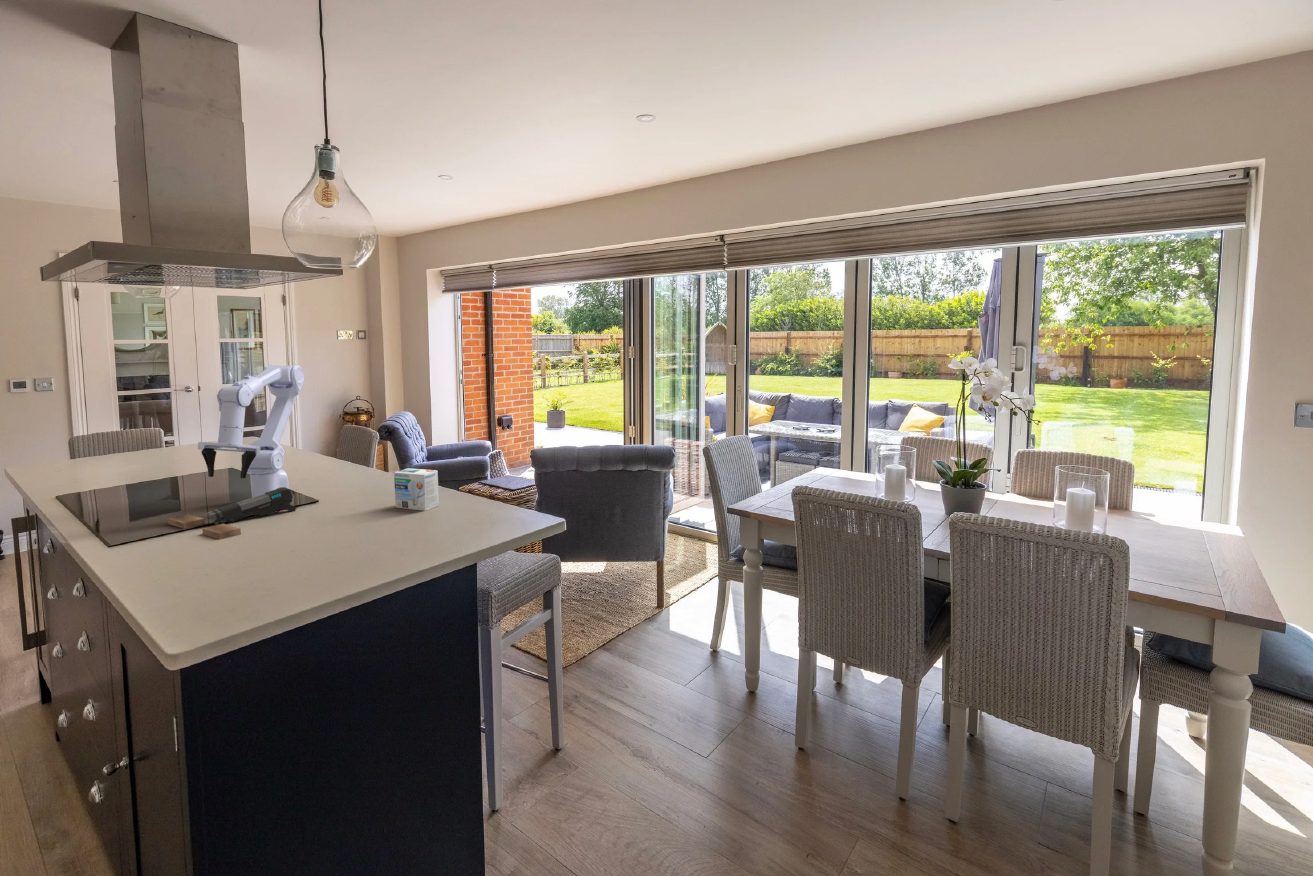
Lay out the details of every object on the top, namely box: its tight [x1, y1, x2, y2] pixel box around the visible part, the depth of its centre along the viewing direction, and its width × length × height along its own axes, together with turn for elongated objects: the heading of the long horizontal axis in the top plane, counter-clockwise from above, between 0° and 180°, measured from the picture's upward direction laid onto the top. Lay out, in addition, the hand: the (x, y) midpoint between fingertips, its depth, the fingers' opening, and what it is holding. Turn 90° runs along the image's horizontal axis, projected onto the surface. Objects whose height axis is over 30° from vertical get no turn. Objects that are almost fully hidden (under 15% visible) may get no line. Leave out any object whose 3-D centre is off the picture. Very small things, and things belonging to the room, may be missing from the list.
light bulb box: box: [393, 467, 440, 512], centre depth 196 cm, size 11×7×11 cm, turn 73°
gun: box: [206, 487, 297, 525], centre depth 184 cm, size 4×20×10 cm, turn 136°
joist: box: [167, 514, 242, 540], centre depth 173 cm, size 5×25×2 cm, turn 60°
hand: (227, 477), depth 184 cm, fingers open, 7 cm apart
